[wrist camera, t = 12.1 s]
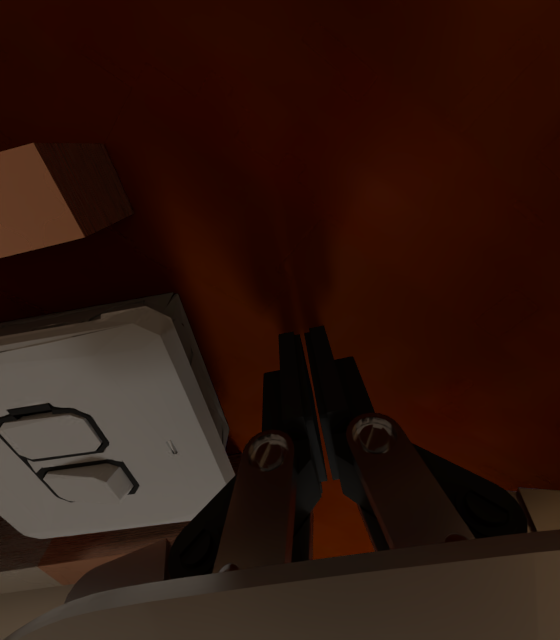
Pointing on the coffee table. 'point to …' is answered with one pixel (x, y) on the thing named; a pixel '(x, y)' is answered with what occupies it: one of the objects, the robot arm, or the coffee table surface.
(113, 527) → the electrical switch
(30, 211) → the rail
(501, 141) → the coffee table surface
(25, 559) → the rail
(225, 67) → the coffee table surface
